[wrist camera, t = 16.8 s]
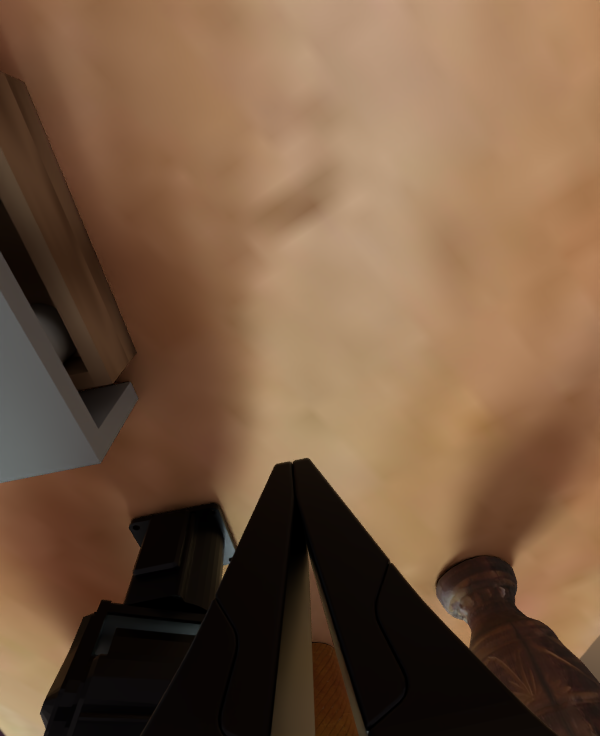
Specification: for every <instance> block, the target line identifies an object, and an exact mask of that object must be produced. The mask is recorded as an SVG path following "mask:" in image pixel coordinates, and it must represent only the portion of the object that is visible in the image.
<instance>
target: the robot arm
mask: <svg viewBox="0 0 600 736" xmlns="http://www.w3.org/2000/svg"><path fill="white" fill-rule="evenodd" d="M129 529H130V531H131V533H132V534H133V536H134V538H135V539H136V541H137V543H138V544H139V546H140V551H139V554H138V557H137V560H136V563H135V566H134V569H133V576H132V579H131V582H130V585H129V588H128V591H127V594H126V597H125V600H124V604H118V603H111V601H108V600H101V603H100V605H99V608H98V610H97V612H94V613H93V614H90V615H88V616H85V617H83V619H82V622H81V624H80V627H79V629H78V632H77V634H76V636H75V639H74V641H73V643H72V646H71V648H70V650H69V652H68V655H67V657H66V659H65V661H64V663H63V665H62V667H61V669H60V671H59V673H58V675H57V677H56V679H55V681H54V683H53V684H52V686H51V688H50V690H49V692H48V694H47V696H46V699H45V701H44V703H43V706H42V709H41V712H40V715H41V717H42V720H43V723H44V725H45V728H46V730H45V733H44V736H315V715H314V688H313V662H312V635H311V608H310V581H309V559H308V552H309V556H310V561H311V565H312V568H313V572H314V576H315V579H316V583H317V586H318V590H319V594H320V597H321V601H322V604H323V608H324V612H325V615H326V619H327V622H328V626H329V630H330V633H331V637H332V641H333V644H334V648H335V651H336V655H337V659H338V662H339V666H340V669H341V673H342V677H343V680H344V684H345V687H346V691H347V695H348V698H349V702H350V706H351V709H352V713H353V716H354V720H355V724H356V727H357V731H358V734H359V736H559V735H558V734H556V733H555V732H554V731H553V730H552V729H551V728H549V727H548V726H547V725H546V724H545V723H544V722H543V721H542V720H540V719H539V718H538V717H537V716H536V715H535V714H534V713H533V712H532V711H531V710H530V709H529V708H528V707H527V706H526V705H525V704H524V703H523V702H521V701H520V700H519V699H518V698H517V697H516V696H515V695H514V694H513V693H512V692H511V691H510V689H509V688H508V687H507V686H506V685H505V684H504V683H503V682H502V681H501V680H500V679H499V678H498V677H497V676H496V675H495V674H494V673H493V672H492V671H491V670H490V669H489V668H488V667H487V666H486V665H485V664H484V663H483V662H482V661H481V660H480V659H479V658H478V657H477V656H476V655H475V654H474V653H473V652H472V651H471V650H470V649H469V648H468V647H467V646H466V645H465V644H464V643H463V642H462V641H461V640H460V639H459V638H458V637H457V636H456V635H455V634H454V633H453V632H452V631H451V630H450V629H449V628H448V627H447V626H446V625H445V623H444V622H443V621H442V620H441V619H440V618H439V617H438V616H437V615H436V614H435V613H434V612H433V611H432V610H431V609H430V607H429V606H428V605H427V604H426V603H425V602H424V601H423V600H422V599H421V597H420V596H419V595H418V594H417V593H416V591H415V590H414V589H413V588H412V587H411V585H410V584H409V583H408V582H407V581H406V580H405V578H404V577H403V576H402V575H401V573H400V572H399V571H398V570H397V568H396V567H395V566H394V564H393V563H390V560H389V558H388V557H387V556H386V555H385V553H384V552H383V551H382V550H381V548H380V547H379V546H378V545H377V543H376V542H375V541H374V540H373V538H372V537H371V536H370V535H369V533H368V532H367V531H366V529H365V528H364V527H363V526H362V524H361V523H360V522H359V521H358V519H357V518H356V517H355V516H354V514H353V513H352V512H351V511H350V509H349V508H348V507H347V505H346V504H345V503H344V502H343V500H342V499H341V498H340V497H339V495H338V494H337V493H336V492H335V490H334V489H333V488H332V487H331V485H330V484H329V483H328V482H327V480H326V479H325V478H324V476H323V475H322V474H321V473H320V471H319V470H318V469H317V468H316V466H315V465H314V464H313V463H312V461H311V460H310V459H309V458H304V459H299V460H295V461H293V464H292V462H284V463H279V464H276V465H275V466H274V468H273V470H272V472H271V475H270V477H269V479H268V481H267V483H266V485H265V488H264V490H263V492H262V494H261V496H260V498H259V501H258V503H257V505H256V507H255V509H254V511H253V514H252V516H251V518H250V520H249V522H248V524H247V527H246V529H245V531H244V533H243V535H242V537H241V540H240V542H239V544H238V546H237V548H236V546H235V544H234V541H233V539H232V536H231V534H230V531H229V529H228V526H227V524H226V521H225V519H224V516H223V513H222V511H221V508H220V506H219V505H218V504H216V503H210V504H205V505H200V506H195V507H190V508H185V509H180V510H175V511H170V512H165V513H160V514H155V515H150V516H145V517H140V518H135V519H133V520H131V523H130V525H129ZM307 548H308V549H307ZM227 564H229V566H228V568H227V570H226V572H225V574H224V576H223V579H222V571H223V565H227Z"/></svg>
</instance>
